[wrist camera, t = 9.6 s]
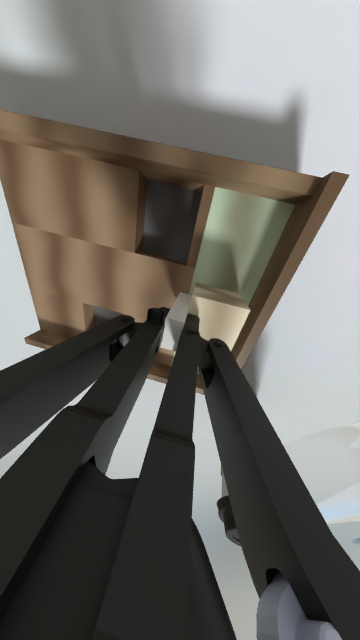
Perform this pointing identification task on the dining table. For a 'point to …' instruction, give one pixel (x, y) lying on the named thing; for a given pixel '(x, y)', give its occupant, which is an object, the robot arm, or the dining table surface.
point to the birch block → (218, 313)
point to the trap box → (149, 227)
